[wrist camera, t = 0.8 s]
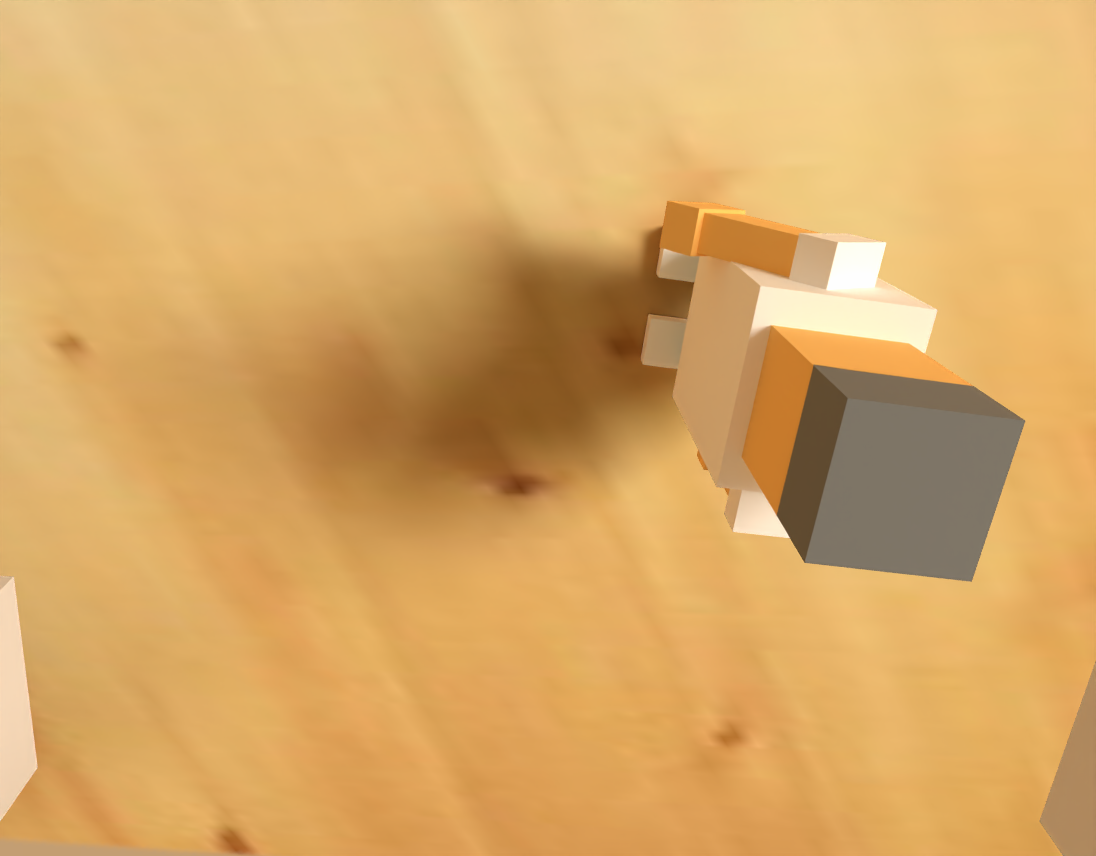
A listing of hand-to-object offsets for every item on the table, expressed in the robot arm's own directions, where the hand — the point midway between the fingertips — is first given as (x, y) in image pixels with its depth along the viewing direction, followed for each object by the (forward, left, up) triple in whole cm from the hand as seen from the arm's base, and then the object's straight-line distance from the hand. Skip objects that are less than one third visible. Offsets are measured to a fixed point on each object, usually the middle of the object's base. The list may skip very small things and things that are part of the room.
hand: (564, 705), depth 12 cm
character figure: (0, +7, -26) cm, 27 cm away
